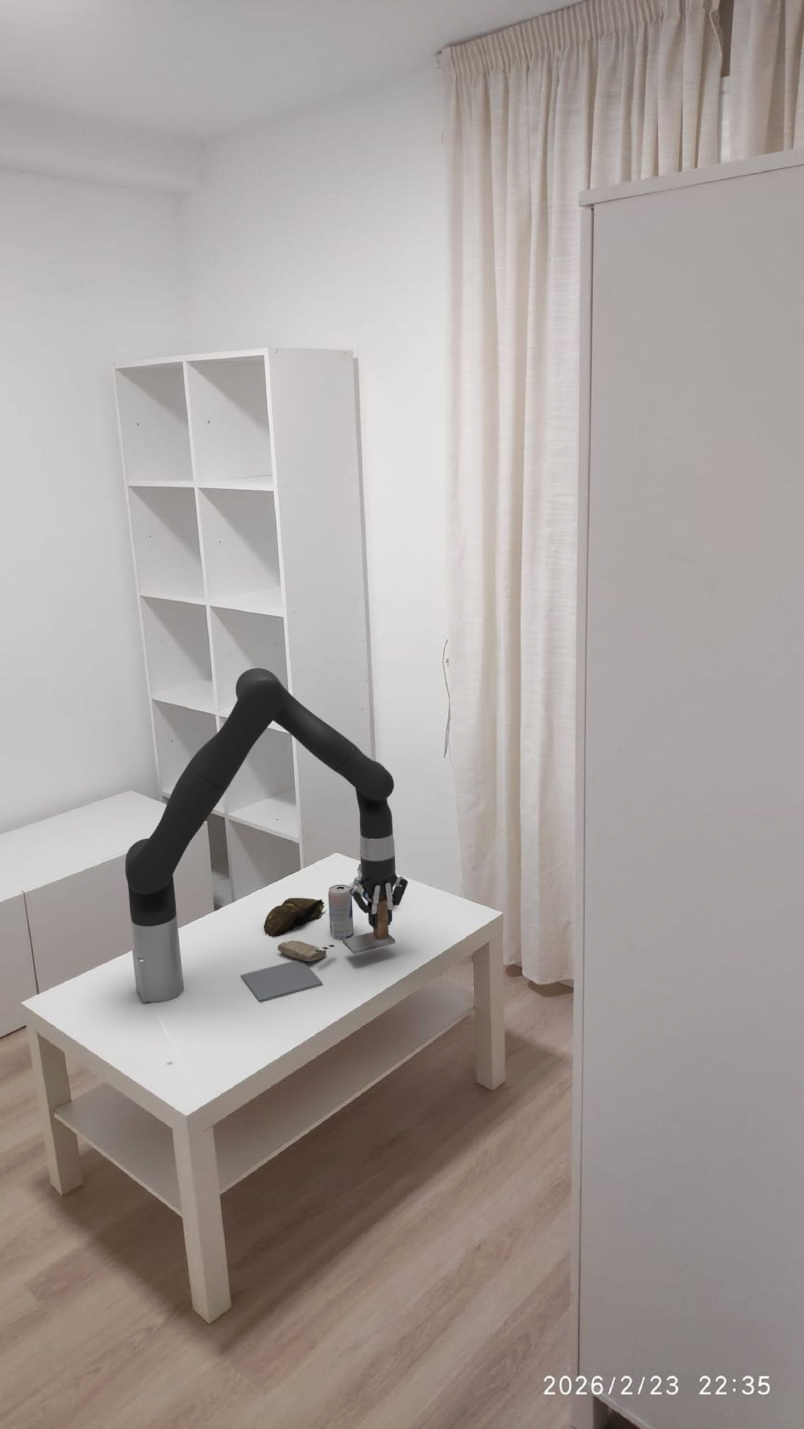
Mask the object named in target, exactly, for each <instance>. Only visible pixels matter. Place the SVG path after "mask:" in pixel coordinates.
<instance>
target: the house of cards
mask: <svg viewBox="0 0 804 1429" xmlns="http://www.w3.org/2000/svg"><path fill="white" fill-rule="evenodd" d="M356 871H357V876H356V877H354V880H353V882H352V883H350V884H349V885H348V886H349V887H350V889H351V888H354V889H355V888H357V887H358V886H359V885H360V881H361V879H362V875H361V863H359V864H358V867H357V870H356Z"/></svg>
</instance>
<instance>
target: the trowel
mask: <svg viewBox="0 0 804 1429" xmlns="http://www.w3.org/2000/svg"><path fill="white" fill-rule="evenodd" d="M376 913H377V922H378V928H376V929H374V928H373V927H372V928H373V929H372V931H370V932H366V933H363V934H359V935H358V934H357V935H355V936H352V937H351V938H347V939H343V940H342V944H343V945H344V946H345V947H346V948H347V949H348V950H349V951H350V952H351V953H352V955H358V954H362V953H364V952H368V951H372V950H376V949H379V948H384V947H387V946H391V945H395V944H396V939H395V937H392V935H390V934H389V925H388V905H387V900H386V899H385V898H384V897H382V896H381V897H379V901H378V904H377V912H376Z"/></svg>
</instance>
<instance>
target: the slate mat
mask: <svg viewBox="0 0 804 1429" xmlns="http://www.w3.org/2000/svg"><path fill="white" fill-rule="evenodd" d="M240 978H241V979H242V981H243V982H244V984H245V985H246V986H247V988H248V989H249V990H250V991H251V993H252V994H253V995H254V997H255V998H256V999H257V1001H258V1002H259V1003H262V1002H266V1001H269V1000H272V999H276V998H277V999H278V998H282V997H284V996H288V995H291V994H294V993H295V994H296V993H298V992H302V991H305V990H309V989H313V988H318V987H320V986H323V985H324V984H323V982H322V980H320V978H319V977H318V975H316V973H315V972H314V971H313V970H312V969H311V968H310V967H309V965H308V964H306V962H305V961H304V960H300V959H296V960H292V961H289V962H284V963H281V964H277V965H273V966H269V967H266V968H262V969H259V970H255V971H250V972H248V973H243V974H240Z"/></svg>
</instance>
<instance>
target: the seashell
mask: <svg viewBox="0 0 804 1429" xmlns="http://www.w3.org/2000/svg"><path fill="white" fill-rule="evenodd" d="M324 908H325V901H323V899H322V898H321V899H316V898H309V897H308V898H306V897H290V898H287V899H285V900H284V901H283V903H281V905H275V907H273V908H272V909H271V910H270V912H268V914H267V915H266V918H265V921H264V924H263V930H264V933H266V934H268V935H269V936H268V937H270V936H273V937H272V938H274V936H278V937H280V935H281V936H283V935H285V934H287V933H288V932H291V931H293V930H294V929H296V928H297V927H299V928H300V927H304V926H306V925H307V924H308V923H311V922H314V921H317V920H319V919H320V917H321V916H322V913H323V909H324ZM284 933H285V934H284ZM266 934H265V935H266Z"/></svg>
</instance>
